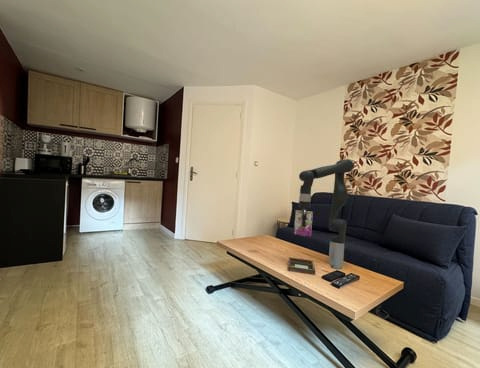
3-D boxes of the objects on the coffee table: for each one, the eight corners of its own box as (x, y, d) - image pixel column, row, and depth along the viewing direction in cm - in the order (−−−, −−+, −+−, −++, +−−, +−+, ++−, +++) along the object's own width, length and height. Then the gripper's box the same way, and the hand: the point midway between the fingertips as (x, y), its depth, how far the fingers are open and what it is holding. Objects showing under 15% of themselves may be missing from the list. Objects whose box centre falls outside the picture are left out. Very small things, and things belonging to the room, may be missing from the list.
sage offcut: (294, 267, 149) (295, 264, 149) (307, 269, 147) (307, 266, 147) (294, 270, 143) (294, 267, 143) (307, 272, 141) (307, 269, 141)
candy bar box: (293, 234, 153) (295, 210, 154) (294, 233, 158) (296, 209, 158) (310, 237, 149) (312, 212, 150) (311, 235, 154) (312, 211, 154)
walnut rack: (288, 263, 160) (288, 257, 160) (312, 266, 156) (312, 260, 156) (287, 273, 141) (288, 266, 141) (314, 277, 138) (315, 270, 138)
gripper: (298, 199, 161) (297, 223, 162) (299, 200, 147) (297, 226, 148) (309, 200, 160) (308, 224, 160) (311, 201, 146) (309, 228, 146)
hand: (303, 225), depth 154 cm, fingers closed on candy bar box, 5 cm apart
